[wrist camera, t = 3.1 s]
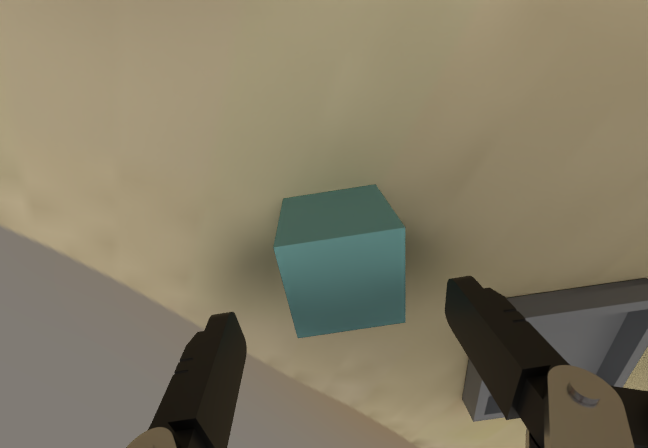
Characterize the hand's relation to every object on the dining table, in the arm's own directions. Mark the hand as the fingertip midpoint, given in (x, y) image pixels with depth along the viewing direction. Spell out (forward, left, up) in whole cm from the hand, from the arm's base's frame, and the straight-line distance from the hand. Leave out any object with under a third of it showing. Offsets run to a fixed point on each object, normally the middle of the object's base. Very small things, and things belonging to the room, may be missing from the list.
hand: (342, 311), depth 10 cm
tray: (-15, +13, -6) cm, 21 cm away
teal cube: (0, 0, -6) cm, 6 cm away
